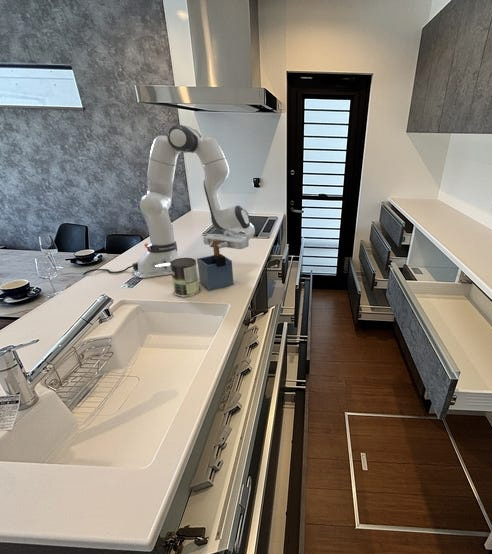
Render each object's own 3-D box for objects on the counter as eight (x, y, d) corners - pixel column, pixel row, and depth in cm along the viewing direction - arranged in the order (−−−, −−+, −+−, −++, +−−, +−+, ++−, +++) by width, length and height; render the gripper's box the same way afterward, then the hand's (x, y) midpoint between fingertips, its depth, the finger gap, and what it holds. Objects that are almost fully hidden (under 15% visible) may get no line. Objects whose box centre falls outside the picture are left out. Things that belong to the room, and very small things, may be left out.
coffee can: (174, 298, 127) (169, 267, 121) (174, 288, 136) (170, 258, 130) (200, 295, 130) (196, 264, 125) (199, 285, 139) (195, 256, 134)
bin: (209, 290, 134) (206, 266, 130) (199, 282, 143) (197, 258, 138) (233, 284, 141) (231, 260, 137) (223, 276, 149) (220, 253, 145)
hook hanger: (213, 275, 138) (209, 239, 131) (221, 273, 140) (217, 238, 134) (218, 280, 134) (214, 243, 127) (227, 277, 136) (223, 241, 129)
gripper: (213, 229, 145) (194, 236, 133) (250, 233, 139) (234, 241, 127) (214, 241, 148) (195, 249, 136) (251, 247, 141) (235, 256, 129)
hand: (214, 246), depth 131 cm, fingers closed on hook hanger, 2 cm apart
